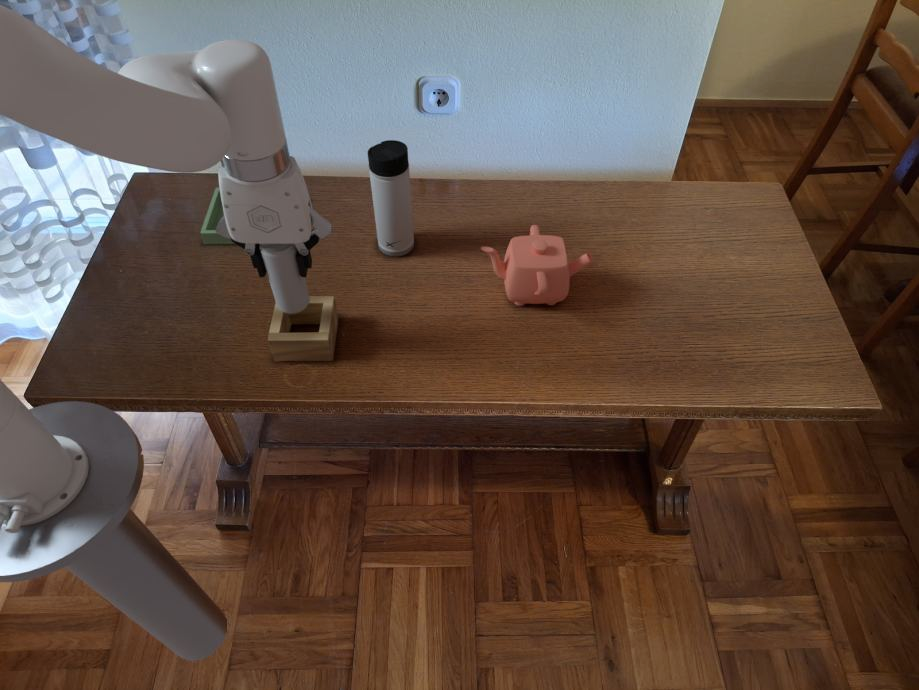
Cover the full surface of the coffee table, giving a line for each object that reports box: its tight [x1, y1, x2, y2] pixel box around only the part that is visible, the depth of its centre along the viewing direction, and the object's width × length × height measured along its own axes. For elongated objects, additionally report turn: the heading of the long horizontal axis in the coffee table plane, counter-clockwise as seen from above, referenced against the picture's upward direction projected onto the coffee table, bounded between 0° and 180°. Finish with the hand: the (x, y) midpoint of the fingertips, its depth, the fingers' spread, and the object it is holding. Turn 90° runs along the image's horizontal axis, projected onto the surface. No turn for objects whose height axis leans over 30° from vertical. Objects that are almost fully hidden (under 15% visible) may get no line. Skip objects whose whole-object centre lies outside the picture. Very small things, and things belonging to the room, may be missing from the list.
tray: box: [200, 186, 236, 245], centre depth 118 cm, size 13×14×3 cm
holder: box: [267, 295, 339, 362], centre depth 99 cm, size 9×9×5 cm
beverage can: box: [260, 244, 310, 314], centre depth 90 cm, size 5×5×12 cm
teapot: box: [480, 224, 595, 306], centre depth 104 cm, size 14×12×10 cm
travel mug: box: [367, 139, 415, 257], centre depth 107 cm, size 6×7×20 cm
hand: (284, 269), depth 89 cm, fingers closed on beverage can, 4 cm apart
